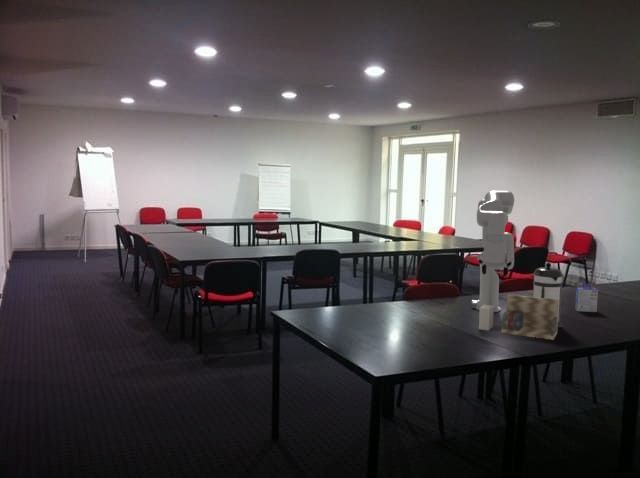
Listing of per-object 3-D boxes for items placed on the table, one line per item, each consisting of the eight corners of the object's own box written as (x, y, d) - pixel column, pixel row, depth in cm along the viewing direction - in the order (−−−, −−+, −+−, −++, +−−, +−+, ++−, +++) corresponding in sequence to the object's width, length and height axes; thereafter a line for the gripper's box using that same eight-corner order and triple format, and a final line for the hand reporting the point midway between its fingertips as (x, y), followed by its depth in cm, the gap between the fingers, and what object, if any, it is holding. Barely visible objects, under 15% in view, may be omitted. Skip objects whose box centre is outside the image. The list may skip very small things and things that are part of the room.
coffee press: (568, 324, 261) (571, 262, 258) (555, 330, 250) (558, 266, 246) (532, 317, 273) (535, 258, 270) (518, 323, 262) (521, 262, 259)
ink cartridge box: (594, 310, 290) (595, 283, 289) (597, 312, 285) (598, 285, 283) (574, 309, 292) (576, 282, 291) (577, 311, 287) (578, 284, 285)
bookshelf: (501, 332, 245) (502, 299, 244) (506, 326, 256) (508, 294, 254) (553, 340, 234) (555, 304, 233) (557, 333, 244) (558, 299, 243)
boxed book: (478, 329, 251) (479, 307, 250) (483, 325, 258) (483, 304, 257) (488, 330, 249) (489, 309, 248) (492, 326, 256) (493, 305, 255)
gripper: (474, 238, 254) (473, 274, 255) (512, 240, 244) (511, 277, 245) (480, 237, 260) (479, 272, 261) (517, 239, 250) (515, 275, 252)
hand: (494, 274), depth 253 cm, fingers open, 9 cm apart
